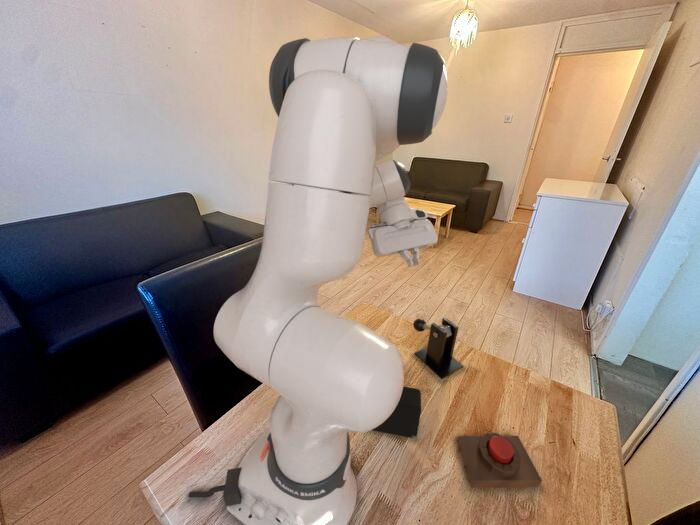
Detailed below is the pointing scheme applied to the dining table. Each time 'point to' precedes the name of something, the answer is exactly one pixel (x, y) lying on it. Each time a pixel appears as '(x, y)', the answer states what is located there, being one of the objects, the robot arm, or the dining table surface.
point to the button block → (497, 464)
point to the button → (500, 449)
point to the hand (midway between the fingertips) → (414, 265)
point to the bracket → (440, 350)
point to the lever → (429, 326)
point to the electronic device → (404, 415)
